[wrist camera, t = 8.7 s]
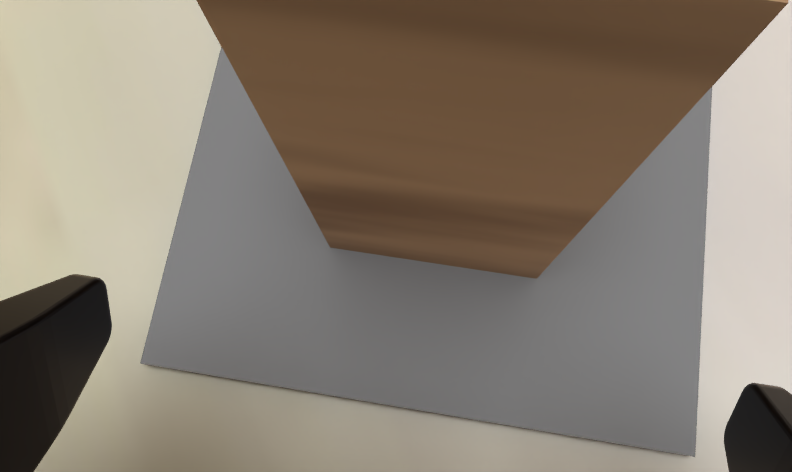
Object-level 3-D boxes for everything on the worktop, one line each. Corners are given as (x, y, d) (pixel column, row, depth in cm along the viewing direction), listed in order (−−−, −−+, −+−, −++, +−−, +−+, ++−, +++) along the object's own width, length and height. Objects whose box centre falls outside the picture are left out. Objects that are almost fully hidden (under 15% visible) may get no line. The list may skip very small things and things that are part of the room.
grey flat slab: (688, 455, 16) (709, 459, 15) (146, 364, 17) (126, 361, 16) (713, -70, 20) (731, -100, 19) (269, -120, 21) (260, -151, 20)
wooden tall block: (536, 278, 17) (832, -46, 5) (330, 247, 17) (129, -125, 5) (561, 57, 19) (829, -600, 7) (371, 33, 19) (289, -629, 7)
